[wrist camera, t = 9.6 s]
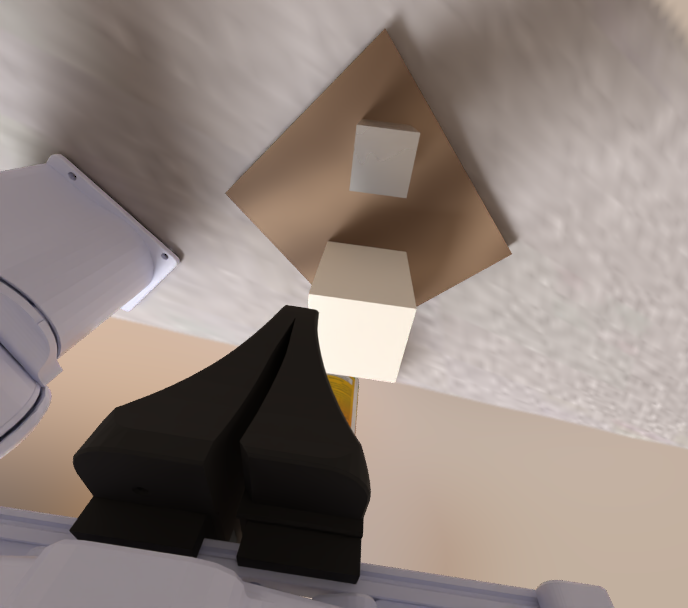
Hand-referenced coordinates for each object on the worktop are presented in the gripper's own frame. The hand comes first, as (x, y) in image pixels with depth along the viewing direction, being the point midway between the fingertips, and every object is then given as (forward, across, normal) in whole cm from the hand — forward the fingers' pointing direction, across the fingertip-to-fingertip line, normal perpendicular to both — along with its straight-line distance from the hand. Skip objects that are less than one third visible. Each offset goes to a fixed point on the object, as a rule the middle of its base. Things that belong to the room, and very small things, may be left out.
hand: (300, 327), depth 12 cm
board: (+10, -2, -2) cm, 11 cm away
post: (+9, -2, -6) cm, 11 cm away
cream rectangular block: (+9, -2, +3) cm, 10 cm away
